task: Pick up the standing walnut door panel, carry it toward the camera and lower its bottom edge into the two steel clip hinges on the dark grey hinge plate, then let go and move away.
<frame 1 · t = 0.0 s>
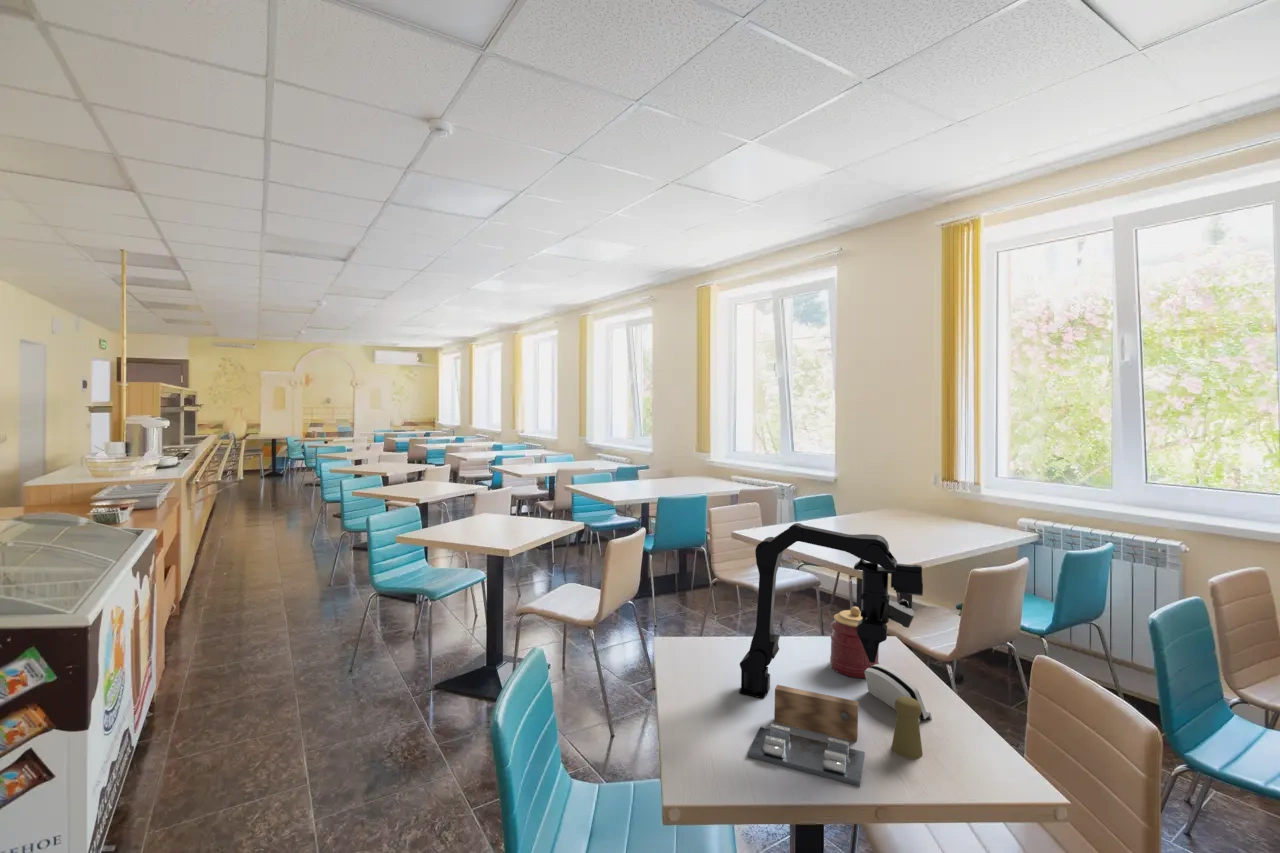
hand: (873, 655, 139), 15 cm above the table, tool pointing down, fingers open, 9 cm apart
hinge plate: (806, 756, 122), on the table
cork: (907, 751, 125), on the table
cabinet door: (815, 729, 133), on the table
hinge: (894, 707, 144), on the table
canister: (854, 669, 165), on the table
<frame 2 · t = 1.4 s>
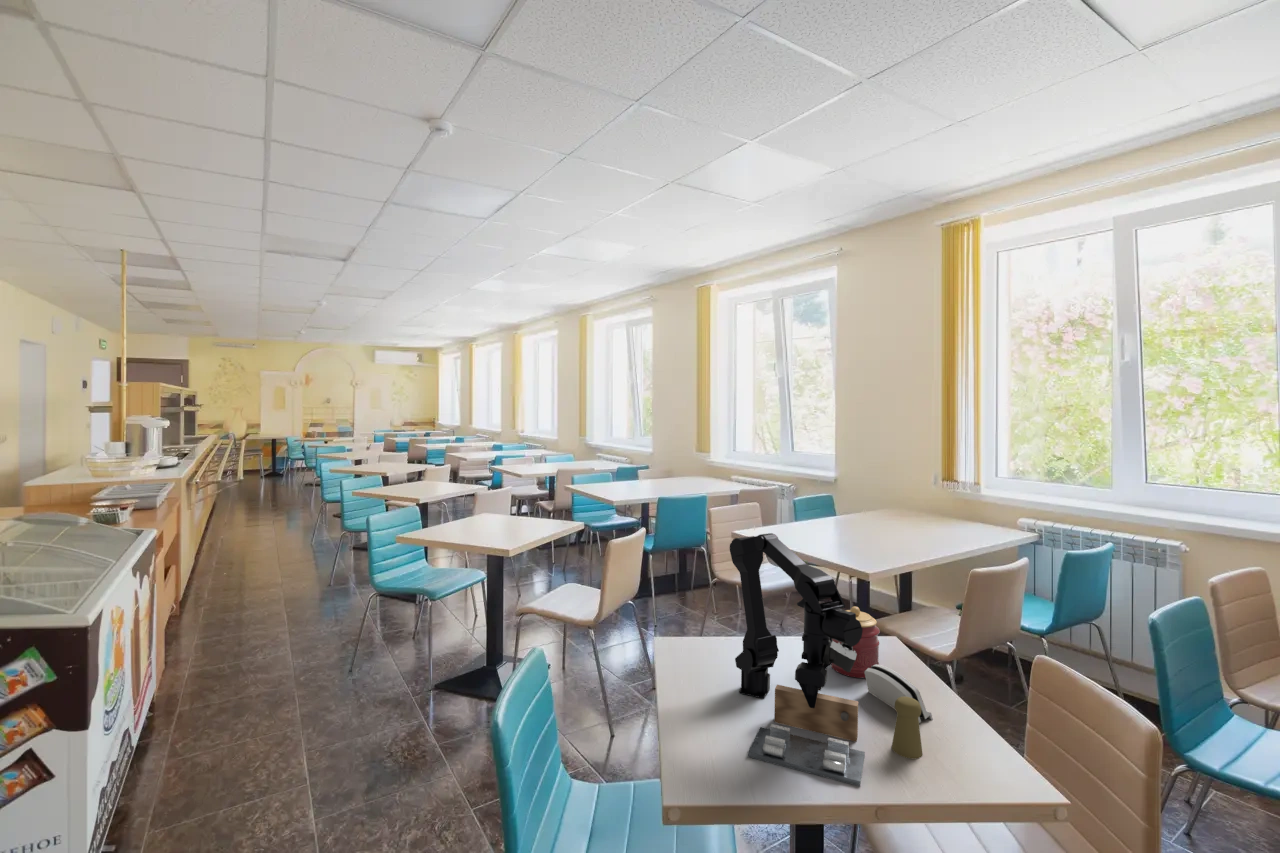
hand: (815, 698, 133), 7 cm above the table, tool pointing down, fingers open, 9 cm apart
nothing on the table moved.
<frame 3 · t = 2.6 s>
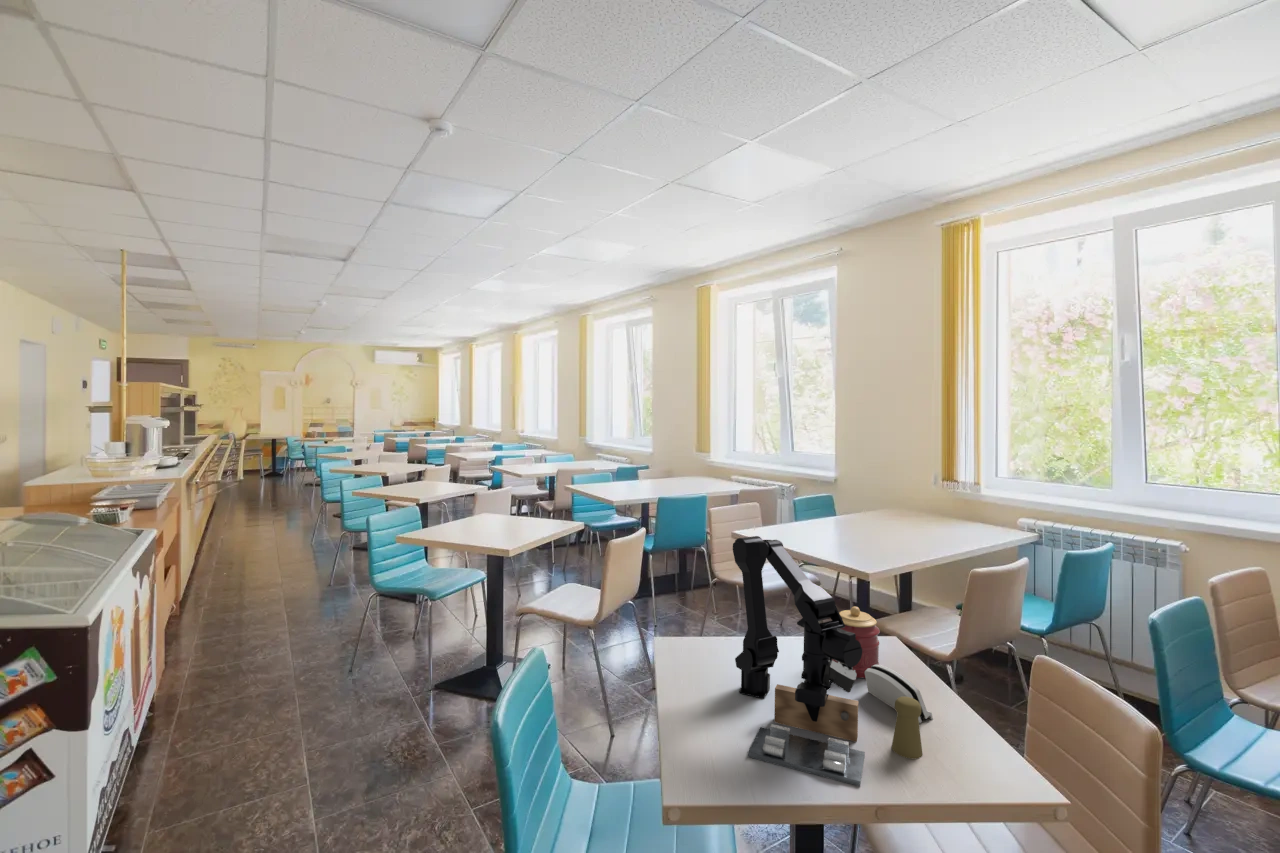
hand: (815, 718, 133), 3 cm above the table, tool pointing down, fingers closed on cabinet door, 2 cm apart
cabinet door: (815, 729, 133), on the table, touching gripper
everything else where it was.
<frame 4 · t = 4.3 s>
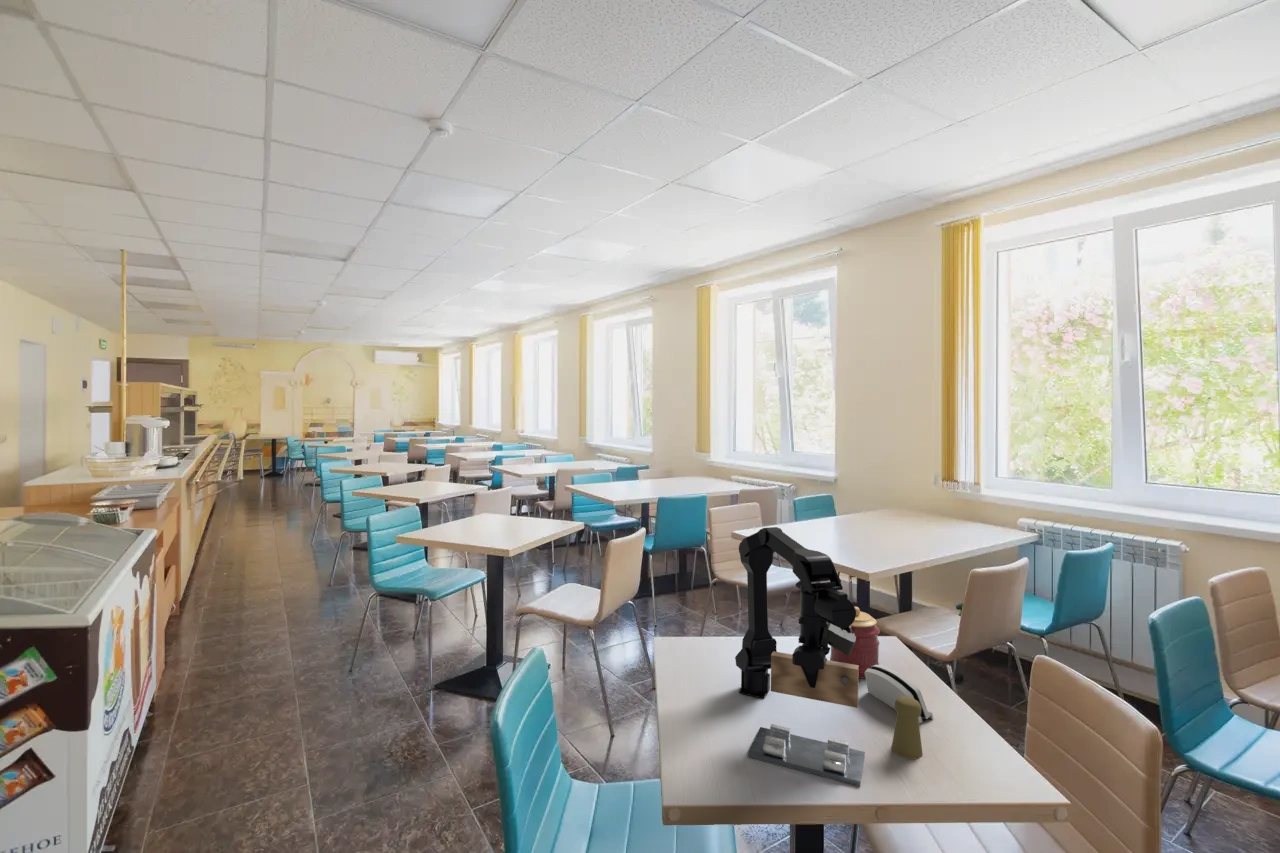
hand: (813, 684, 127), 13 cm above the table, tool pointing down, fingers closed on cabinet door, 2 cm apart
cabinet door: (813, 696, 127), point 10 cm above the table, touching gripper
everything else where it was.
when the fingers open (5 cm above the table, at t = 5.9 s): cabinet door stays where it is, resting on hinge plate.
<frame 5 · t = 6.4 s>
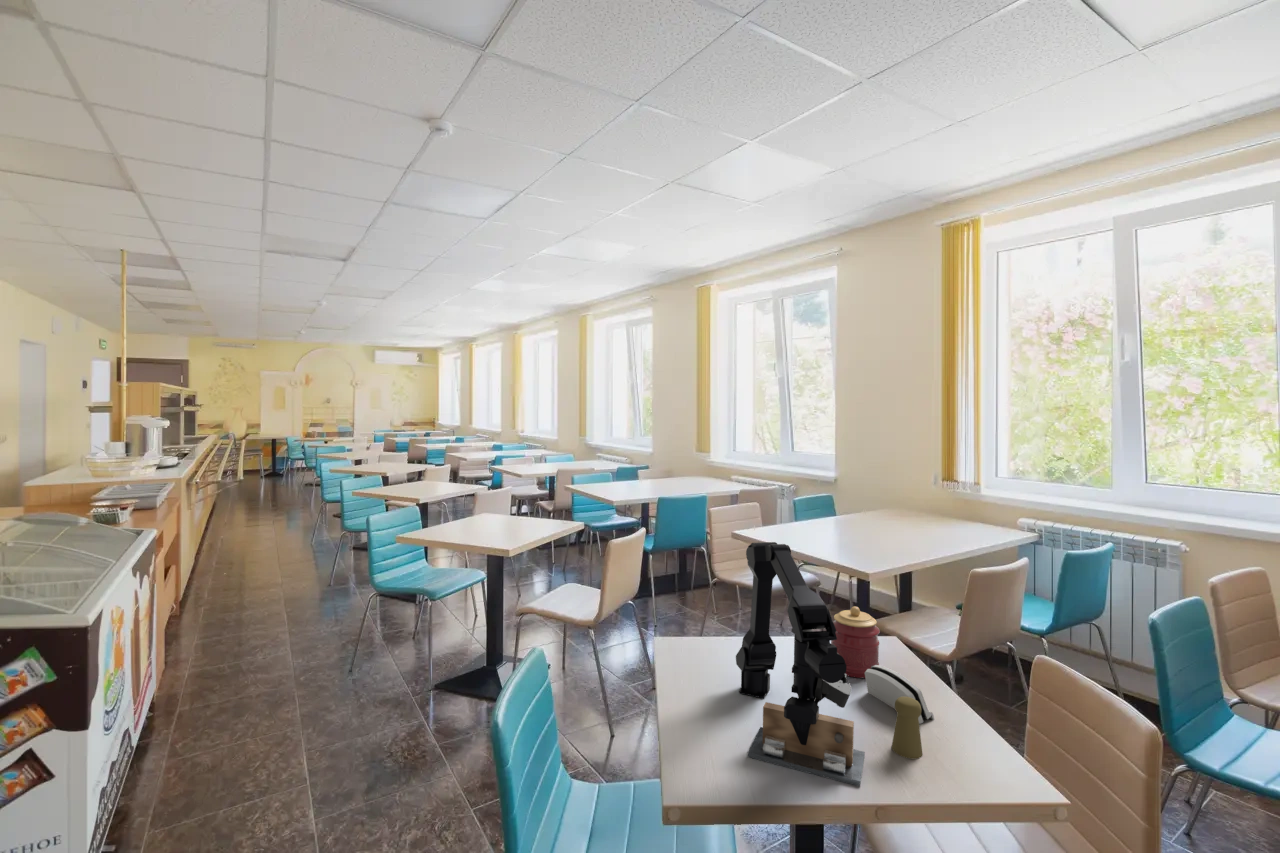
hand: (806, 735, 122), 4 cm above the table, tool pointing down, fingers open, 7 cm apart
cabinet door: (806, 751, 122), point 1 cm above the table, touching hinge plate
everything else where it was.
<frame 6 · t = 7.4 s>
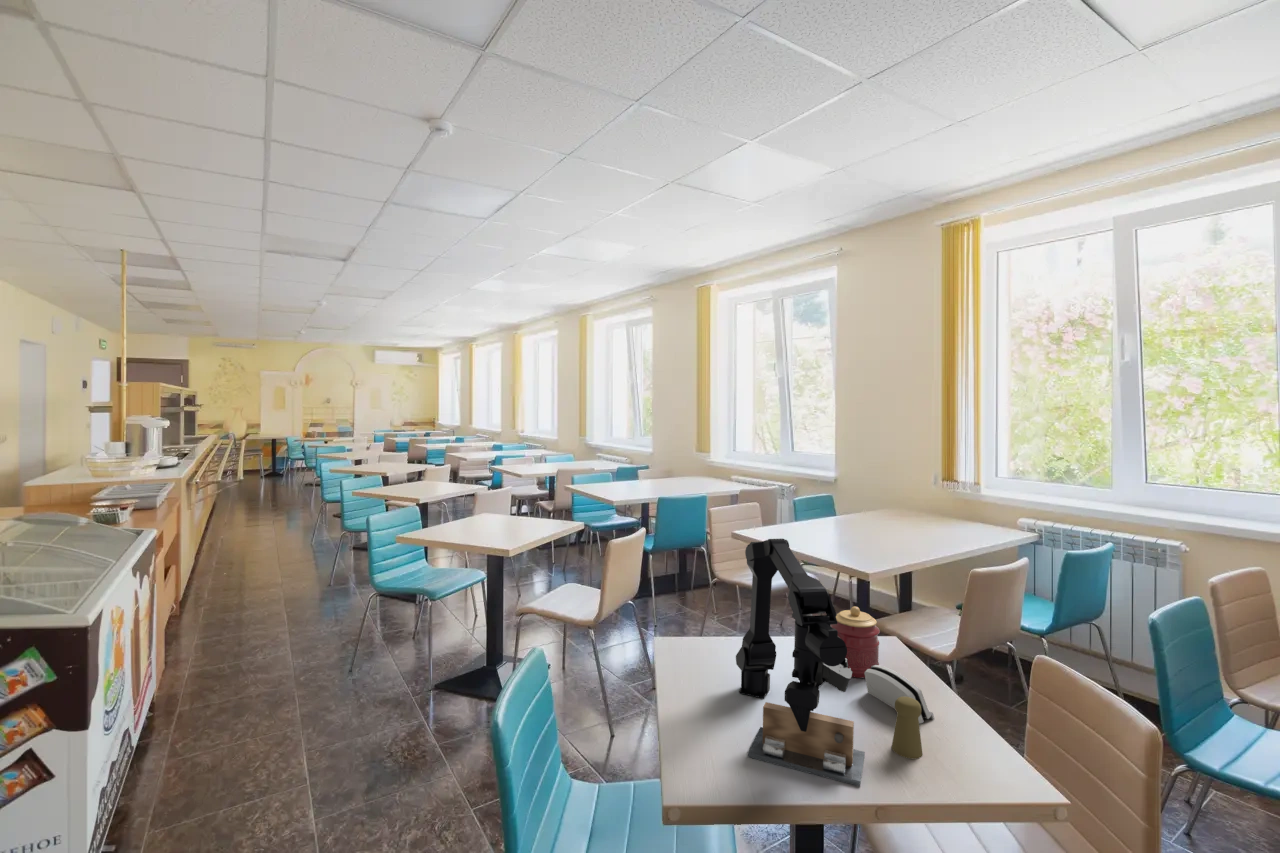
hand: (807, 720, 122), 8 cm above the table, tool pointing down, fingers open, 9 cm apart
nothing on the table moved.
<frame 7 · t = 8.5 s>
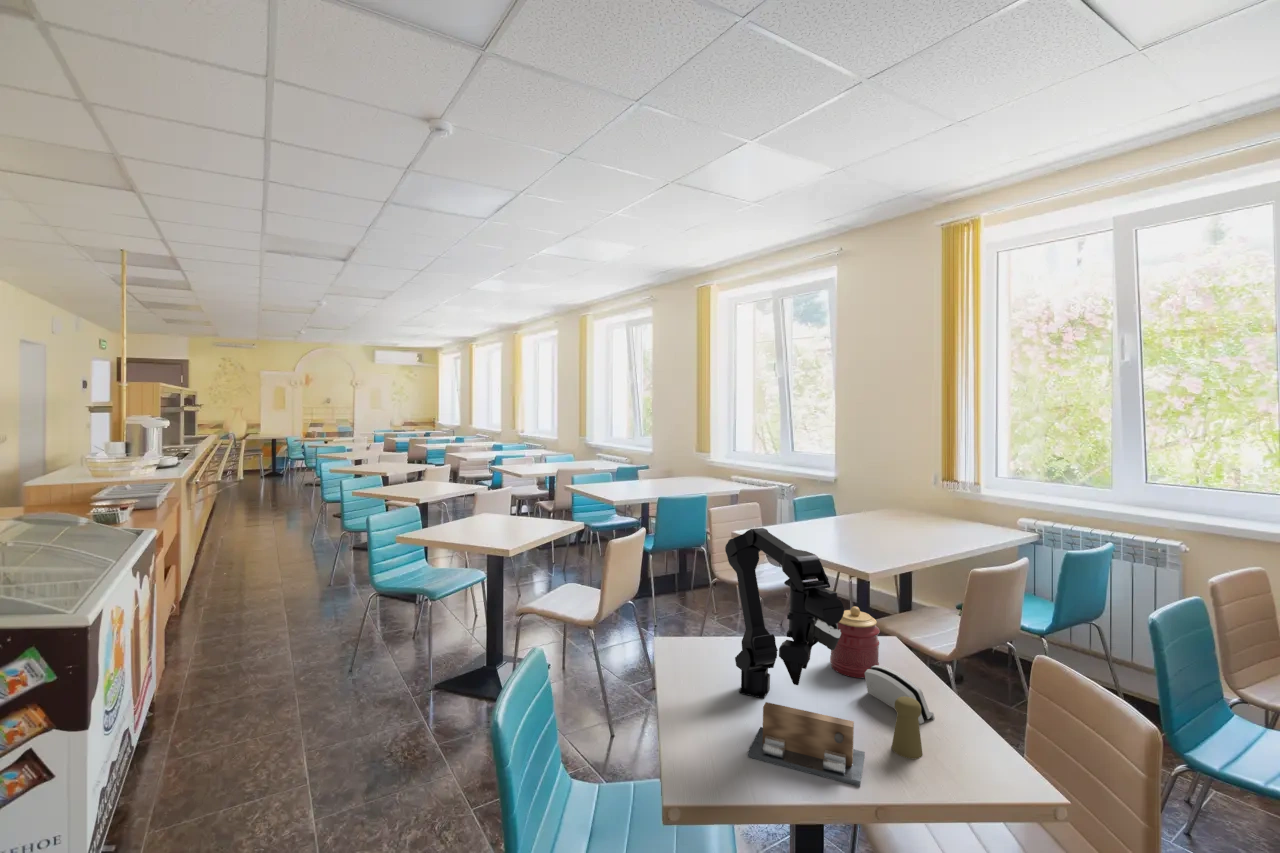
hand: (800, 676, 134), 11 cm above the table, tool pointing down, fingers open, 9 cm apart
nothing on the table moved.
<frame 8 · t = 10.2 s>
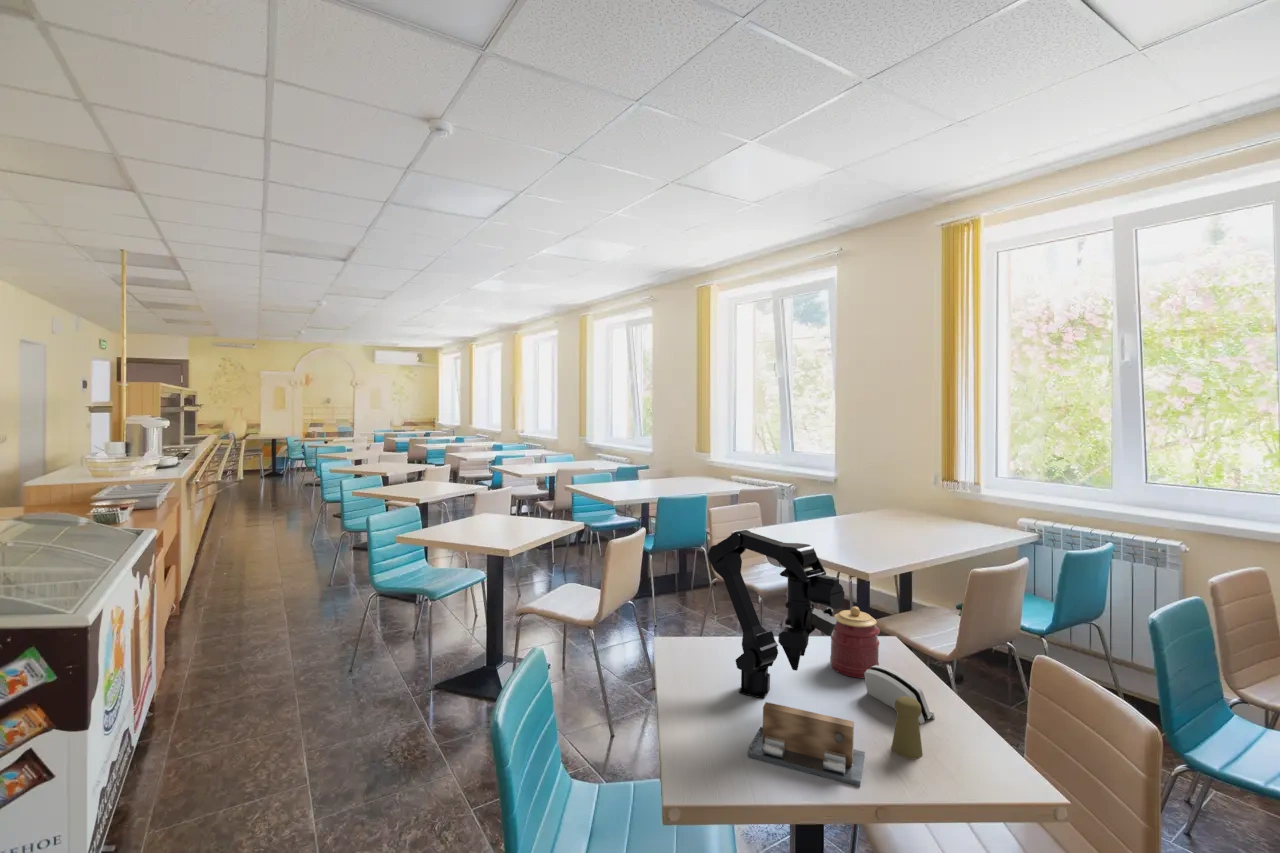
hand: (798, 662, 140), 12 cm above the table, tool pointing down, fingers open, 9 cm apart
nothing on the table moved.
at the end: cabinet door 0.1 cm off-centre on the hinge plate, point 1.0 cm above the hinge plate's base; cabinet door tilted 0°; the gripper is holding nothing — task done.
